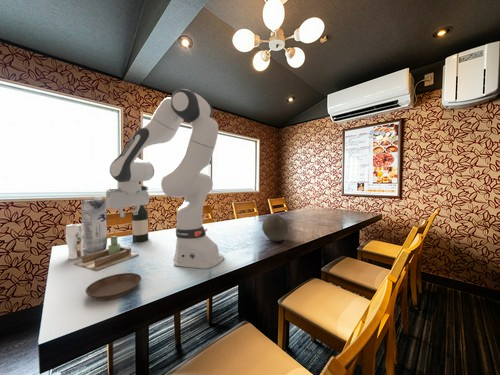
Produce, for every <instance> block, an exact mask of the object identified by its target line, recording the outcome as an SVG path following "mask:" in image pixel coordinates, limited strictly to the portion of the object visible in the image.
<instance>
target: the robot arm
mask: <svg viewBox="0 0 500 375" xmlns="http://www.w3.org/2000/svg"><path fill="white" fill-rule="evenodd" d="M213 115H214V110H213V107H212V105H211V104H210V102H208V100H206V99H204V98H203V97H202V96H201V95H200V94H198V93H196V92H193V91H192V90H190V89H187V88H179V89H175V91H174V92H173V93H172V95H171V97H165V98H164V99H163V100H162V101H161V102H160V104H159V105H158V106H157V108H156V110H154V113H153V115H152V117H151V119H150V120H149V121H148V122H147V123H146V124H145V125H144V126H143V127H141V128H139V129H138V130H136V131H135V133H134V134H133V136H131V138H130V139H129V141H128V142H127V144H126V145H125V147H124V148H123V150H122V151H121V153H120V154H119V155H118V156H117V157H116V158H115V159H114V160H113V161H112V162H111V164H110V167H109V174H110V176H111V177H112V178H113V179H114V180H115V181H117V188H111V187H110V188H108V190H106V192H105V196H106V197H105V202H106V210H107V209H108V210H115V209H117V211H118V213H119V214H120V215H119V217H120V218H125V217H126V213H125V212H124V211H123V210H124V208H129V207H130V208H131V207H134V209H135V211H134V210H133V211H132V212H133V215H138V210H139V208H140V205H143V206H147V205H149V203H150V195H149V192H148V190H149V187H148V186H146V185H144V184H140V183H139V182H147V181H150V180H151V179H152V178H153V177H154V174H155V168H154V166H153V164H152V163H151V162H150V161H146V160H143V159H141V158H139V155H140V154H141V153H142V152H143V150H144V149H145V148H147V147H149V146H154V145H158V144H159V145H160V144H165V143H168V142H170V141H171V140H172V139H173V138H174V137H175V135H176V133H177V132H178V130H179V128H180V126H181V124H182V122H185V123H188V124H189V123H190V126H191V131H190V135H189V138H188V140H187V144H186V147H185V151H184V154H183V156H182V158H181V159H180V161H179V162H178V164H177V165H176V166H175V167H174V168H173V169H172V170H171V171H169V172H167V173H165V175H164V176H163V177H162V180H161V183H160V185H161V190H162V192H163V193H164V194H165V196H167V197H171V198H184V201H183V203H182V204H181V205H180V206H179V208H177V209H176V227H175V236H176V243H175V252H174V253H175V254H174V256H173V266H176V267H183V268H184V267H186V268H194V269H202V270H203V269H204V270H205V269H207V270H208V269H210V268H212V267H215V266H217V265H220V263H221V262H223V260H224V259H225V255H224V254H221V253H220V251H219V247H218V245H217V243H215V241H213V240H212V239H211V238H210V237H208V235H206V234H207V233H206V232H207V231H208V228H206V229H205V227H204V225H203V210H204V206H205V205H204V204H205V201H206V198H207V197H208V194H209V193H210V192H211V191H212V189H213V186H214V184H213V179H212V177H211V176H210V175H208V174H205V173H202V172H201V171H202V170H203V169H204V168H206V167H208V166H209V164H210V163H211V160H212V156H213V153H214V150H215V147H216V144H217V139H218V134H219V124H218V122H217V121H216V120H215V119H214V118H213Z"/></svg>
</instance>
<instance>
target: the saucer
mask: <svg viewBox="0 0 500 375" xmlns="http://www.w3.org/2000/svg"><path fill="white" fill-rule="evenodd" d="M141 280H142V277H141V275H140V274H137V273H133V272H124V273H118V274H117V273H116V274H112V275H109V276H105V277H103V278H100V279H98V280H95V281H93V282H92V283H90V284H89V285H88V286H87V287H86V289H85V294H86V295H87V296H88V297H90V298H92V299H94V300H97V301H110V300H115V299H118V298H120V297H121V298H122V297H124V296H127V294H129V293H131V292H132V291H133V290H135V289H136V287H137V286H139V284H140V282H141Z"/></svg>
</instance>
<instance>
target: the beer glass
mask: <svg viewBox="0 0 500 375" xmlns="http://www.w3.org/2000/svg"><path fill="white" fill-rule="evenodd" d="M65 241H66V244H67V248H68V255H67V259H68V260H77V259H78V260H79V259H82V257H83V256H86V254H85V249H84V242H85V224H82V223H74V224H67V225H66V226H65Z"/></svg>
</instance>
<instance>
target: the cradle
mask: <svg viewBox="0 0 500 375" xmlns="http://www.w3.org/2000/svg"><path fill="white" fill-rule="evenodd" d="M139 255H140V253H135V252H132V247H131V248H130V247H126V246H122V245H120V252H118V253H115V254H112V255H109V248H106V249H103V250H99V251H95V252H94V253H93V252H92V253H91V254H87V255H86V254H85V256H83V257H82V258H81V260H80V261H77V262H74V263H73V264H74V265H76V266H78V267H82V268H86V269H89V270H92V271H95V272H98V271H100V270H103V269H106V268H109V267H112V266H114V265H117V264H119V263H122V262H125V261H126V260H127V261H128V260H130V259H132V258H135V257H138V256H139Z"/></svg>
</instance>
